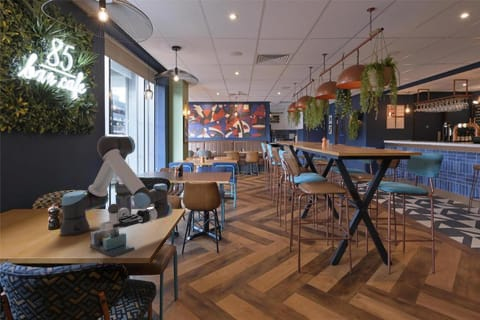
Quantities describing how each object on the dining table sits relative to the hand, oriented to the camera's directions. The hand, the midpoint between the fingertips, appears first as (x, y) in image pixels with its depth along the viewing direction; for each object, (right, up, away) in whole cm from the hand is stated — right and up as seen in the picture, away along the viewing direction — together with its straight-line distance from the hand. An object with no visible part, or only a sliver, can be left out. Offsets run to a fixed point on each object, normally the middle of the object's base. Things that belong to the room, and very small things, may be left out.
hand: (103, 226), depth 126 cm
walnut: (-3, -11, +10) cm, 15 cm away
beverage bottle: (-20, -8, +69) cm, 72 cm away
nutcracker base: (+1, -12, +7) cm, 14 cm away
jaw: (+3, -11, +5) cm, 12 cm away
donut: (-12, -10, +48) cm, 51 cm away
